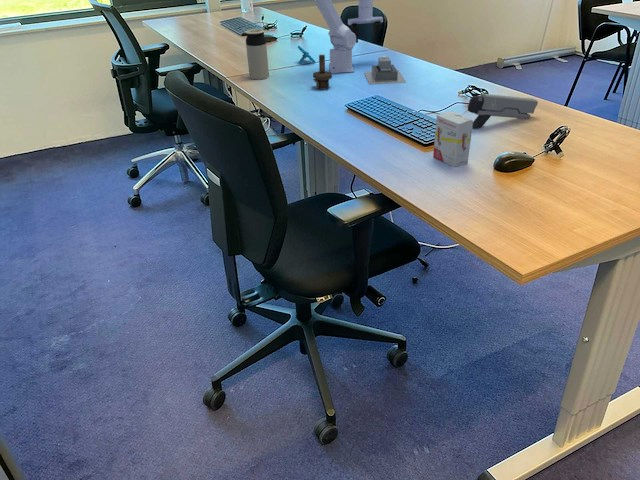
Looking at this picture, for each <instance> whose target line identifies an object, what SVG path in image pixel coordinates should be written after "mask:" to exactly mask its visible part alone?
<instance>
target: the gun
mask: <svg viewBox="0 0 640 480" xmlns="http://www.w3.org/2000/svg"><path fill="white" fill-rule="evenodd" d="M538 103H539V101H538V100H537V99H534V98H529V97H518V96H511V95H509V96H508V95H499V94H491V93H490V94H489V93H481V94H480V96H479V95H477V96H476V95H474V96H471V98H470V99H469V102H468V105H467V111H468V112H469V113H472V114H475V115H477V117H475V118H474V120H473V126H472V129H477V130H480V129H482V128H483V127H484V125H485V124H486V123H487V121H488V120H489V119H490V118H491V117H497V118H498V117H501V118H510V119H511V118H514V119H525V120H528V119H530V118H531V114H534V113H535V110H536V109H537V108H536V107H537V106H538Z"/></svg>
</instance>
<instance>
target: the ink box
mask: <svg viewBox="0 0 640 480" xmlns="http://www.w3.org/2000/svg"><path fill="white" fill-rule="evenodd" d="M435 121H436V122H435V134H434V145H433V156H432V157H433V158H435V159H437V160H439V161H441V162H443V163H445V164H448V165H450V166H452V167H453V168H457V167H459V166H462V165H465V164H468V163H469V155H470V149H471V140H472V135H473V134H472V133H473V128H472V126H473V121H474V120H473V119H472V118H470V117H468V116H466V115H463V114H460V113H458V112H455V111H453V110H452V111H446V112H444V113H440V114H437V115H436V120H435Z"/></svg>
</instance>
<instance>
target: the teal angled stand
mask: <svg viewBox="0 0 640 480" xmlns="http://www.w3.org/2000/svg"><path fill="white" fill-rule="evenodd" d="M297 48H298V50H299V51H300V52H301V53H302V57H301V58H300V59H299V61H298V64H301V63H302V62H303V61H304V60H305V59H306V58H307V59H308V60H310V61H311V62H312V63H316V59H314V58H313V57H312V56H311V55H310V53H309V52H308V51H305V49H304V48H302V47H301V46H300V45H297Z"/></svg>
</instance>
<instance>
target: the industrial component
mask: <svg viewBox="0 0 640 480" xmlns="http://www.w3.org/2000/svg"><path fill="white" fill-rule="evenodd" d="M318 59H319V60H318V61H319V65H318V67H319V71H315V72H313V73H312V78H313V79H312V80H313V81H314V82H315V84H316V90H326V89H329V87H330V80H332V78H333V73H331V71H328V70H327V71H326V55H325V54H319V55H318Z"/></svg>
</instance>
